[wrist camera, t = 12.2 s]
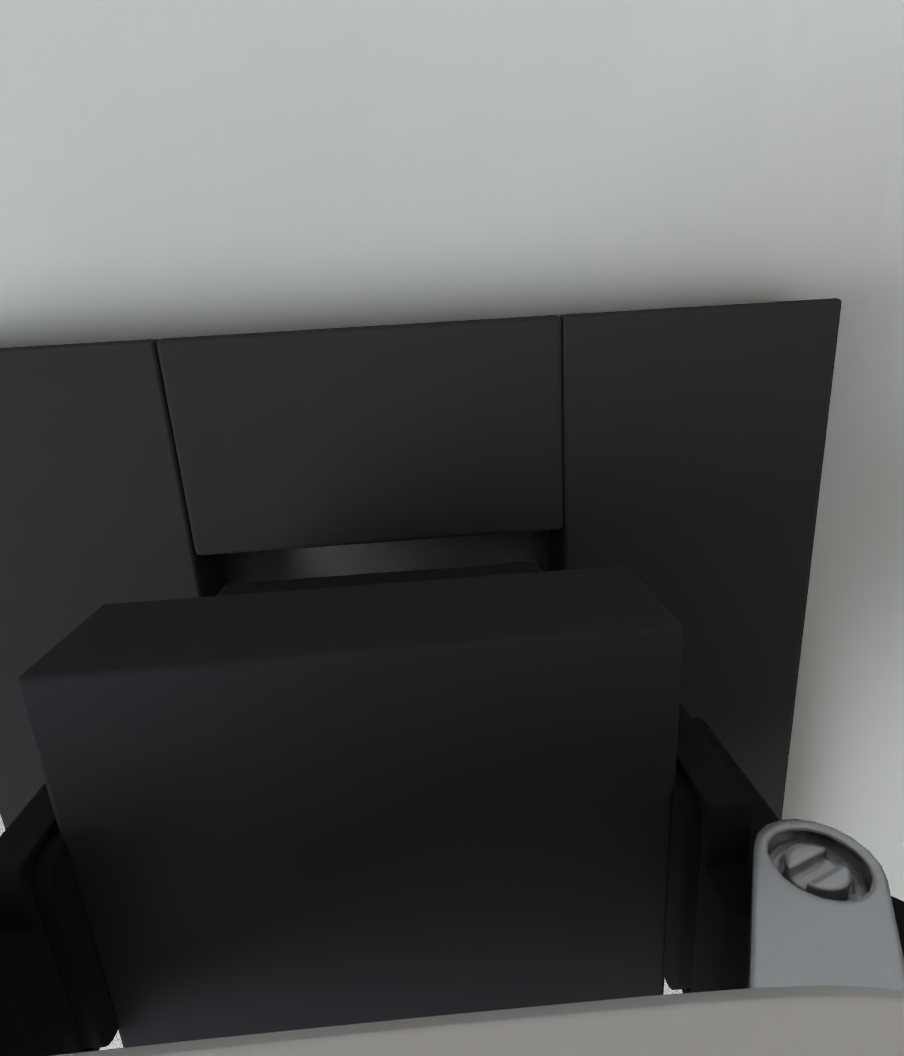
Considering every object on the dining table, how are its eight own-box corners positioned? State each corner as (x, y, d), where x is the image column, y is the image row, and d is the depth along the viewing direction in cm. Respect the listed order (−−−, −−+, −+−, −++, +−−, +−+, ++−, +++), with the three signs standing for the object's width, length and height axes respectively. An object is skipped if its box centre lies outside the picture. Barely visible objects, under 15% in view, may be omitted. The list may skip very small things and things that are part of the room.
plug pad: (582, 514, 11) (687, 626, 7) (581, 842, 13) (660, 1086, 9) (170, 543, 11) (8, 679, 7) (236, 874, 13) (148, 1139, 9)
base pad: (792, 302, 12) (844, 298, 10) (736, 887, 16) (768, 941, 15) (-80, 354, 11) (-152, 357, 10) (94, 947, 15) (62, 1010, 14)
